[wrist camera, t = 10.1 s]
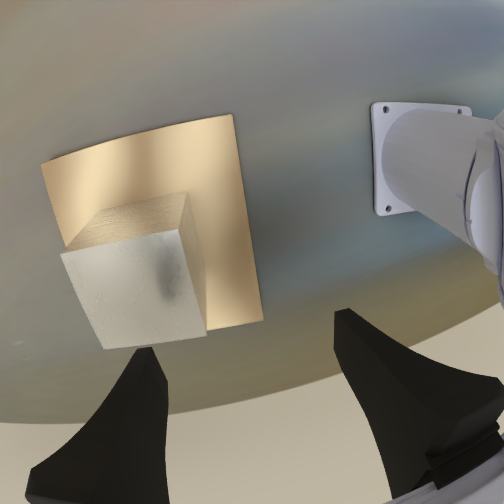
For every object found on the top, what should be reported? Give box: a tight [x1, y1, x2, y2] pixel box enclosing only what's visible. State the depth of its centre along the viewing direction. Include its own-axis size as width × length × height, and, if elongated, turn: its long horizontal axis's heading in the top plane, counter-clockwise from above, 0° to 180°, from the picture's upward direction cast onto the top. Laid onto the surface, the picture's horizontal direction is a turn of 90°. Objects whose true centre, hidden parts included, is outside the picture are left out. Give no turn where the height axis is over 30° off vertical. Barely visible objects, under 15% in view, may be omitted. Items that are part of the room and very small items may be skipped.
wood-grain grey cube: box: [60, 191, 207, 349], centre depth 16 cm, size 6×6×6 cm
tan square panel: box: [41, 114, 264, 330], centre depth 18 cm, size 12×14×6 cm
